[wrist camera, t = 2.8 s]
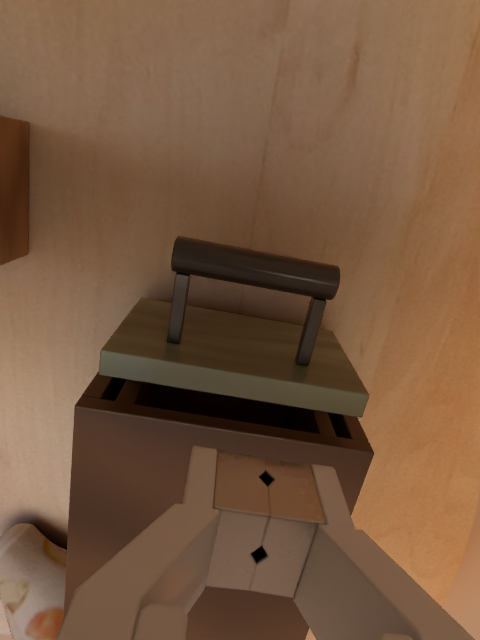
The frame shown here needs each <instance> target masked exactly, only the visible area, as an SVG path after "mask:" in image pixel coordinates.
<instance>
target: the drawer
mask: <svg viewBox="0 0 480 640" xmlns="http://www.w3.org/2000/svg"><path fill="white" fill-rule="evenodd" d="M171 269H172V271H174V272H177V273H176V276H175V283H174V290H173V298H172V303H171V302H165V301H160V300H154V299H148V298H143V297H142V298H141V299H140V300H139V301H138V302H137V304H136V305H135V306H134V308H133V309H132V310H131V312H130V313H129V314H128V315H127V317H126V318H125V319H124V321H123V322H122V323H121V325H120V326H119V327H118V328H117V330H116V331H115V332H114V334H113V335H112V336H111V338H110V339H109V340H108V341H107V343H106V344H105V345H104V347H103V348H102V349H101V352H100V365H99V374H100V375H104V376H110V377H116V378H122V379H127V380H126V382H125V384H124V385H123V387H122V389H121V391H120V393H119V395H118V397H117V399H116V400H115V401H116V402H122V403H129V404H135V405H141V406H147V407H154V408H160V409H166V410H173V411H179V412H185V413H191V414H198V415H204V416H210V417H216V418H223V419H229V420H235V421H241V422H248V423H254V424H260V425H266V426H273V427H279V428H285V429H291V430H298V431H304V432H310V433H316V434H323V435H329V436H335V437H336V434H335V431H334V429H333V426H332V423H331V420H330V418H329V415H328V412H330V413H336V414H342V415H348V416H354V417H362V415H363V412H364V410H365V407H366V404H367V401H368V398H369V393H368V392H367V390H366V388H365V387H364V385H363V383H362V381H361V380H360V378H359V376H358V374H357V373H356V371H355V369H354V368H353V366H352V364H351V362H350V361H349V359H348V357H347V356H346V354H345V352H344V350H343V349H342V347H341V345H340V343H339V342H338V340H337V338H336V337H335V335H334V333H333V332H332V331H328V330H323V329H319V327H320V324H321V320H322V316H323V313H324V309H325V306H326V300H332V299H333V298H334V297H335V295H336V293H337V290H338V287H339V283H340V268H339V267H338V266H335V265H330V264H324V263H319V262H314V261H308V260H303V259H298V258H293V257H287V256H282V255H277V254H271V253H266V252H261V251H256V250H250V249H245V248H240V247H234V246H229V245H224V244H219V243H213V242H208V241H203V240H197V239H192V238H187V237H182V236H177V238H176V240H175V243H174V247H173V253H172V260H171ZM191 275H195V276H201V277H206V278H212V279H217V280H223V281H228V282H234V283H239V284H245V285H250V286H255V287H261V288H266V289H272V290H277V291H283V292H288V293H294V294H299V295H305V296H310V297H311V300H310V304H309V307H308V311H307V315H306V319H305V323H304V326H300V325H295V324H289V323H283V322H278V321H272V320H267V319H261V318H255V317H250V316H244V315H238V314H233V313H227V312H222V311H216V310H210V309H205V308H199V307H193V306H188V305H186V304H187V297H188V291H189V284H190V277H191Z"/></svg>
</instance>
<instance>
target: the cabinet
mask: <svg viewBox="0 0 480 640" xmlns="http://www.w3.org/2000/svg"><path fill="white" fill-rule="evenodd" d="M126 380H127V379H122V378H116V377H110V376H104V375H100V374H99V372H98V373H97V375H96V376H95V377H94V379H93V380H92V382H91V383H90V385H89V386H88V387H87V389H86V390H85V392H84V393H83V395H82V397H81V398H80V399H79V401H78V402H77V404H76V405H75V412H74V430H73V449H72V467H71V485H70V504H69V522H68V541H67V559H66V578H65V596H64V615H63V619H64V617H65V614H66V612H67V609H68V607H69V604H70V602H71V599H72V597H73V594H74V592H75V589H76V588H78V587H79V586H80V585H81V584H82V583H83V582H85V581H86V580H87V579H88V578H89V577H90V576H91V575H93V574H94V573H95V572H96V571H97V570H98V569H100V568H101V567H102V566H103V565H104V564H105V563H107V562H108V561H109V560H110V559H111V558H112V557H113V556H115V555H116V554H117V553H118V552H119V551H120V550H122V549H123V548H124V547H125V546H126V545H127V544H128V543H130V542H131V541H132V540H133V539H134V538H135V537H137V536H138V535H139V534H140V533H141V532H142V531H143V530H145V529H146V528H147V527H148V526H149V525H150V524H152V523H153V522H154V521H155V520H156V519H157V518H158V517H160V516H161V515H162V514H163V513H164V512H165V511H167V510H168V509H169V508H170V507H171V506H172V505H174V504H175V503H178V504H182V503H183V497H184V492H185V486H186V480H187V475H188V469H189V464H190V458H191V452H192V448H193V446H200V447H207V448H213V449H216V450H218V449H219V450H225V451H231V452H236V453H242V454H247V455H253V456H259V457H264V458H269V459H275V460H282V461H289V462H295V463H302V464H315V465H323V466H331V467H333V468H334V469H335V471H336V474H337V477H338V480H339V483H340V486H341V489H342V492H343V495H344V497H345V500H346V503H347V506H348V509H349V512H350V515H351V514H352V512H353V509H354V506H355V504H356V501H357V498H358V496H359V493H360V490H361V487H362V485H363V482H364V479H365V477H366V474H367V471H368V469H369V466H370V463H371V460H372V458H373V455H374V452H373V449H372V447H371V445H370V443H369V442H368V439H367V437H366V435H365V433H364V431H363V429H362V427H361V424H360V422H359V420H358V418H357V417H354V416H348V415H342V414H336V413H330V412H328V415H329V418H330V420H331V423H332V426H333V429H334V431H335V434H336V437H335V436H329V435H323V434H316V433H310V432H304V431H298V430H291V429H285V428H279V427H273V426H266V425H260V424H254V423H248V422H241V421H235V420H229V419H223V418H216V417H210V416H204V415H198V414H191V413H185V412H179V411H173V410H166V409H160V408H154V407H147V406H141V405H135V404H129V403H122V402H116V401H115V400H116V399H117V397H118V395H119V393H120V391H121V389H122V387H123V385H124V384H125V382H126ZM293 600H294V598H291V597H285V596H279V595H272V594H266V593H260V592H254V591H250V590H249V591H248V590H238V589H228V588H218V587H208V586H205V589H204V591H203V592H202V594H201V595H200V596H199V598H198V599H197V601H196V602H195V604H194V605H193V606H192V608H191V609H190V611H189V612H188V614H187V616H188V621H187V631H186V640H305V638H306V636H307V633H308V630H309V626H308V624H307V622H306V621H305V619H304V617H303V616H302V614H301V612H300V611H299V609H298V607H297V606H296V604H295V602H294V601H293Z"/></svg>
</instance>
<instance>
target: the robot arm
mask: <svg viewBox="0 0 480 640" xmlns="http://www.w3.org/2000/svg"><path fill="white" fill-rule="evenodd" d="M205 586H208V587H218V588H228V589H238V590H248V591H249V590H250V591H254V592H260V593H266V594H272V595H279V596H285V597H291V598H294V600H293V601H294V602H295V604H296V606H297V607H298V609H299V611H300V612H301V614H302V616H303V617H304V619H305V621H306V622H307V624H308V626H309V628H310V629H311V631H312V633H313V634H314V636H315V638H316V639H317V640H475V639H474V638H473V637H472V636H471V635H470V634H468V632H467V631H466V630H464V628H463V627H462V626H460V625H459V624H458V623H457V622H456V621H455V620H454V619H453V618H452V617H451V616H450V615H449V614H448V613H447V612H446V611H445V610H444V609H443V608H442V607H441V606H440V605H439V604H438V603H437V602H436V601H435V600H434V599H433V598H432V597H431V596H430V595H429V594H428V593H427V592H425V591H424V590H423V589H422V588H421V587H420V586H419V585H418V584H417V583H416V582H415V581H414V580H413V579H412V578H411V577H410V576H409V575H408V574H407V573H406V572H405V571H404V570H403V569H402V568H401V567H400V566H399V565H398V564H397V563H396V562H395V561H394V560H393V559H392V558H390V557H389V556H388V555H387V554H386V553H385V552H384V551H383V550H382V549H381V548H380V547H379V546H378V545H377V544H376V543H375V542H374V541H373V540H372V539H371V538H370V537H369V536H368V535H367V534H366V533H365V532H364V531H363V530H357V529H355V527H354V524H353V521H352V518H351V515H350V512H349V509H348V506H347V503H346V500H345V497H344V495H343V492H342V489H341V486H340V483H339V480H338V477H337V474H336V471H335V469H334V468H333V467H331V466H323V465H315V464H302V463H295V462H289V461H282V460H275V459H269V458H264V457H259V456H253V455H247V454H242V453H236V452H231V451H225V450H219V449H218V450H216V449H213V448H207V447H200V446H193V448H192V452H191V458H190V464H189V469H188V475H187V480H186V486H185V492H184V497H183V503H182V504H178V503H175V504H174V505H172V506H171V507H170V508H169V509H168V510H167V511H165V512H164V513H163V514H162V515H161V516H160V517H158V518H157V519H156V520H155V521H154V522H153V523H152V524H150V525H149V526H148V527H147V528H146V529H145V530H143V531H142V532H141V533H140V534H139V535H138V536H137V537H135V538H134V539H133V540H132V541H131V542H130V543H128V544H127V545H126V546H125V547H124V548H123V549H122V550H120V551H119V552H118V553H117V554H116V555H115V556H113V557H112V558H111V559H110V560H109V561H108V562H107V563H105V564H104V565H103V566H102V567H101V568H100V569H98V570H97V571H96V572H95V573H94V574H93V575H91V576H90V577H89V578H88V579H87V580H86V581H85V582H83V583H82V584H81V585H80V586H79V587H78V588H76V589H75V592H74V594H73V597H72V599H71V602H70V604H69V607H68V609H67V612H66V614H65V617H64V619H63V622H62V624H61V627H60V629H59V632H58V634H57V637H56V639H55V640H186V631H187V621H188V616H187V614H188V612H189V611H190V609H191V608H192V606H193V605H194V604H195V602H196V601H197V599H198V598H199V596H200V595H201V594H202V592H203V591H204V589H205Z"/></svg>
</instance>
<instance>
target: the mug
mask: <svg viewBox="0 0 480 640" xmlns="http://www.w3.org/2000/svg"><path fill="white" fill-rule="evenodd" d="M66 559H67V550H66V549H63V548H61V547H59V546H57V545H55V544H53V543H52V542H50V541H49V540H48V539H47V538H46V537H45V536H44V535H42V534H41V532H40V531H39V530H38V529H37V528H36V527H35V526H34V525H33V524H23V523H22V524H17V525H15V526H13V527H11V528H9V529H8V530H6V531H5V532H4V533H3V534H2V535H1V536H0V599H1V601H2V603H3V606H4V609H5V613H6V617H7V621H8V624H9V628H10V632H11V635H12V639H13V640H55V639H56V637H57V634H58V632H59V629H60V627H61V624H62V622H63V615H64V596H65V578H66Z"/></svg>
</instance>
